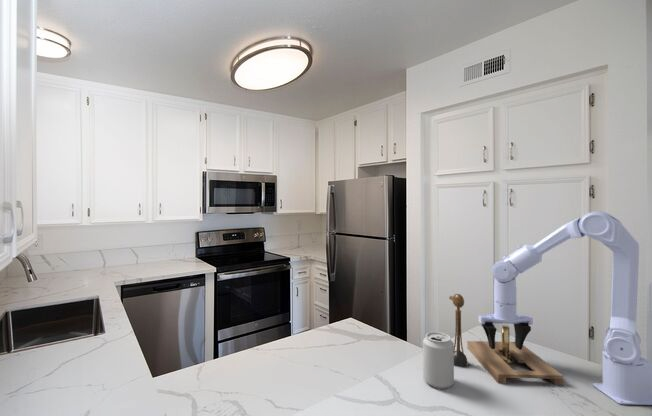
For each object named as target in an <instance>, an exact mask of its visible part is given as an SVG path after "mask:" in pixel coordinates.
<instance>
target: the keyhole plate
mask: <svg viewBox="0 0 652 416" xmlns="http://www.w3.org/2000/svg"><path fill="white" fill-rule="evenodd" d="M466 343H467V346H466V347H467V349H468V351H469V352H470V353H471V355H473V356H474V358H475V359H476V360H477V361H478V362H479V363H480V365H482V366H483V368H484V369H485V370H486V371H487V372H488V373H489V375H490V376H491V377H492V378H493V379H494V380H495V382H497V384H507V378H508V379H509V378H510V379H512V378H513V379H548V380H549V381H550V382H551V383H553V384H554V385H559V386H560V385H561V386H563V385H564V375H563V374H561V372H559V371H558V370H556V369H555V368H554V367H553V366H551V365H550V364H549V363H548V362H546V361H544V360H543V359H542V358H541V357H540V356H538V355H537V354H535V353H534V352H533V351H532V350H531V349H529V348H528V347H526V345H524V344H523V347H522V350H519V349H518V348H517V347H516V345H515V341H509V356H510V357H512V358H513V360H515V361H516V362H518V363H520V364H526V365H527V367H528V368H530V369H531V370H514V369H513V368H512V367H511V366H510V364H507V363H508V359H507V358H506V357H505V356H503V355H502V341H495V349H491V348H490V347H489V343H488V340H487V341H484V340H467V342H466Z"/></svg>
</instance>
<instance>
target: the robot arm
mask: <svg viewBox="0 0 652 416" xmlns="http://www.w3.org/2000/svg"><path fill="white" fill-rule="evenodd" d="M585 236H587V237H589V238H590V239H592V240H596V241H598V242H600V243H602V244H603V245H604V246H605V247H607V248H608V249H609V250H610V251H612V275H611V276H612V277H611V300H610V302H611V303H610V323H609V327H608V328H607V329H606V331H605V338H604V341H603V348H604V349H603V350H602V382H600V383H599V382H593V383H592V386H593V387H595V388H596V389H598V390H599V391H601V392H602V393H604V394H605V395H606V396H607V397H609V398H610V399H612V400H613V401H615V403H617V404H619V405H637V406H639V405H641V406H644V405H645V406H652V362H651V361H650V360H649V359H647V358H645V357H641V356H642V349H641V338H640V335H639V333H638V332H637V314H638V313H637V309H638V291H639V290H638V287H639V285H638V284H639V262H640V261H639V260H640V259H639V258H640V244H639V242H638V240H636V238H635V237H634V236H633V234H631V232H629V230H628V229H627V228H626V227H625V226H624V225H623V223H622V222H621V221H620V220H619V219H618V218H616V217H615V216H614V215H611V214H610V213H608V212H606V211H602V210H598V211H597V210H596V211H590V212H588V213H587V212H586V214H584V215H583V216H582V217H578V218H576V219H574V220H572V221H569V222H567V223H565V224H563V225H561V226H560V227H559V228H557V229H556V230H554V231H553V232H552V233H550V234H548V235H547V236H545V237H544V238H543V239H541V240H539V241H538V242H537V243H535V244H527V243H526V244H524V245H522V244H521V245H519V246H517V247H516V249H517V250H515V251H513V252H512V253H510V254H508V255H505V256H503V257H502V259H503V260H500V261H496V262H495V263H494V264H493V265H492V267H491V275H492V277H493V278H494V279H493V280H494V281H493V284H494V285H493V313H489V314H480V315H478V323H480V325H481V326H482V328H483V330H484V333H485V336H486V338H487V341H488V343H489V347H490V348H491V349H495V342H496V332H497V328H496V327H495V325H494V324H513V327H514V334H515V335H514V340H515V341H514V342H515V345H516V347H517V348H518V349H519V350H522V347H523V345H524V342H525V340H526V338H527V336H528V334H529V333H530V332H531V330H532V327H531V325H533V324H534V323H533V317H531V316H530V315H520V314H517V279H516V278H517V276H519V275H520V274H523V273H524V272H526V271H528V270H530V269H532V268H533V267H535V266H537V264H539V263H541V262H542V260H543V255H544V254H545V253H547V252H549V251H551V250H553V249H554V248H556V247H557V246H559V245H562V244H563V243H564V242H566V241H568V240H569V239H570V240H571V239H580V238H584V237H585Z"/></svg>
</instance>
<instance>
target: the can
mask: <svg viewBox="0 0 652 416" xmlns="http://www.w3.org/2000/svg"><path fill="white" fill-rule="evenodd" d="M454 343H455V342H453V341H452V337H451V336H450V335H449V334H447V333H444V332H440V331H430V332H427V333H426V334H425V337H424V338H423V340H422V348H423V349H422V353H423V354H422V355H423V357H422V359H423V360H422V365H423V367H422V369H423V370H422V371H423V372H422V373H423V374H422V376H423V377H422V378H423V379H424V381H425V382H426V383H427V384H428V385H429V386H431V387H433V388H436V389H448V388H450V387H452V386H453V385H454V383H455V366H454Z"/></svg>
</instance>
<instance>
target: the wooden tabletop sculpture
mask: <svg viewBox="0 0 652 416" xmlns="http://www.w3.org/2000/svg"><path fill="white" fill-rule="evenodd" d="M448 298H449V300H450V301H452V304H453V306H454V307H456V310H455V327H454V328H455V330H454V331H455V334H454V342H453V343H454V367H457V368H466V367H467V366H468V358H467V355H466V354H465V353H464V346H463V338H462V310H461V308H463V306H465V298H464V297H463V295H462V294H460V293H455V294H454V295H453V296H452V295H450V296H449V297H448Z"/></svg>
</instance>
